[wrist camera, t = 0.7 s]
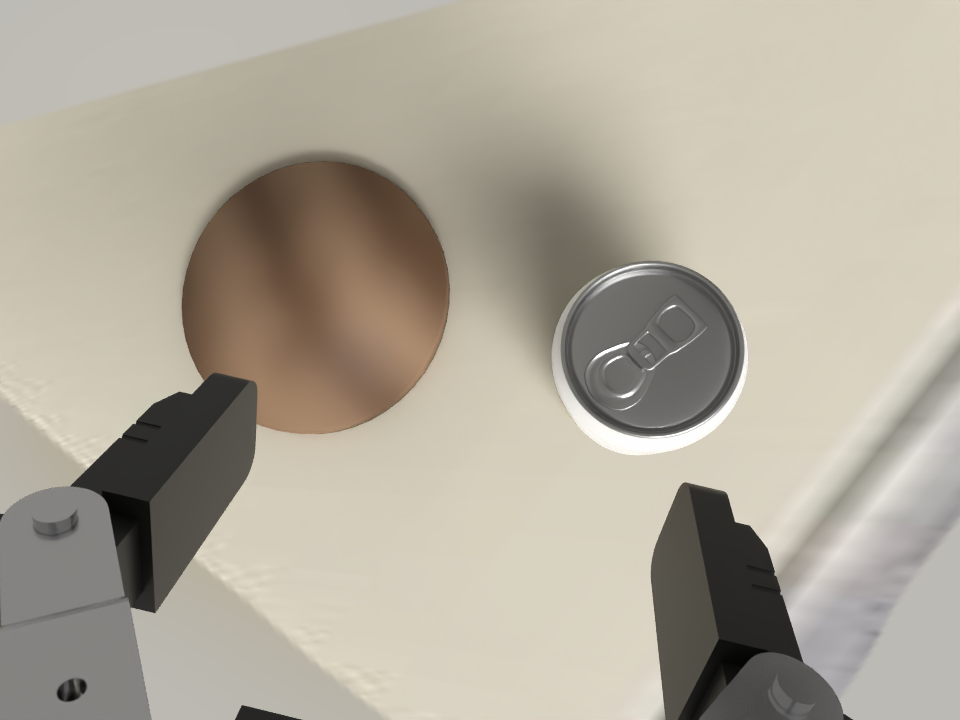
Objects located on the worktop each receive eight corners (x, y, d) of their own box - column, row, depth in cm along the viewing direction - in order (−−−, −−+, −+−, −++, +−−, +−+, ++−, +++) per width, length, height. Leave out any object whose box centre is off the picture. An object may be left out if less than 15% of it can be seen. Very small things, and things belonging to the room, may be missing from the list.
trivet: (337, 116, 39) (330, 108, 38) (506, 307, 36) (503, 302, 35) (144, 290, 39) (133, 285, 38) (295, 491, 36) (287, 492, 35)
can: (537, 382, 35) (505, 343, 23) (636, 291, 35) (655, 206, 23) (630, 484, 34) (646, 497, 22) (734, 390, 33) (806, 353, 22)
